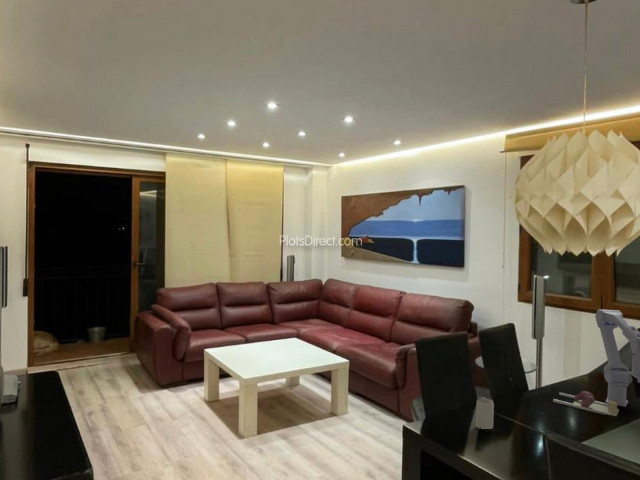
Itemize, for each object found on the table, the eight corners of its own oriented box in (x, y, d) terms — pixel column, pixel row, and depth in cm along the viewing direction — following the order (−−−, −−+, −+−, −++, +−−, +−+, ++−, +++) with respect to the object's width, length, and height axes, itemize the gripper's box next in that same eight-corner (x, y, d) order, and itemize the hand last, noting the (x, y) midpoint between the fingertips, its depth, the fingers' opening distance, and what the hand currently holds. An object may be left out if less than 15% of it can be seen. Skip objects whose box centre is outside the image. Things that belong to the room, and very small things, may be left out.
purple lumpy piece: (590, 412, 197) (598, 399, 196) (580, 406, 198) (588, 393, 197) (581, 403, 207) (589, 391, 206) (572, 398, 207) (580, 386, 207)
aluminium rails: (559, 394, 215) (559, 392, 215) (610, 406, 201) (610, 404, 201) (553, 402, 205) (553, 399, 205) (606, 415, 191) (606, 412, 191)
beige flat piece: (576, 399, 209) (576, 390, 209) (619, 410, 198) (619, 400, 198) (571, 405, 201) (572, 396, 201) (616, 416, 190) (616, 406, 190)
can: (492, 427, 176) (493, 397, 175) (493, 434, 169) (494, 403, 169) (475, 424, 178) (476, 395, 177) (475, 430, 171) (476, 400, 171)
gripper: (628, 358, 199) (626, 388, 200) (629, 366, 187) (628, 397, 188) (647, 361, 196) (646, 391, 196) (650, 369, 183) (648, 401, 184)
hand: (638, 394), depth 191 cm, fingers open, 7 cm apart
